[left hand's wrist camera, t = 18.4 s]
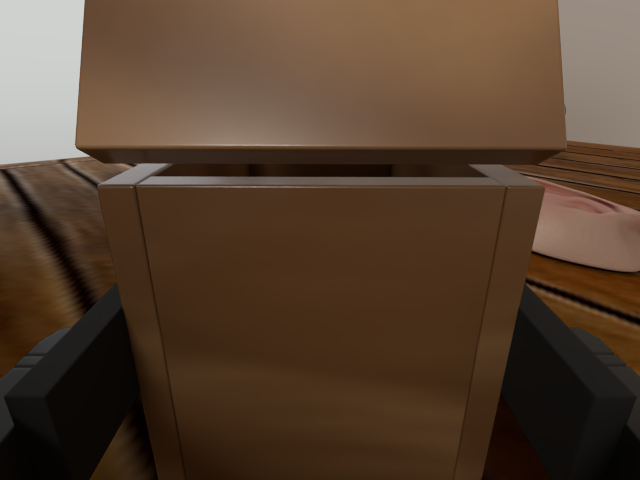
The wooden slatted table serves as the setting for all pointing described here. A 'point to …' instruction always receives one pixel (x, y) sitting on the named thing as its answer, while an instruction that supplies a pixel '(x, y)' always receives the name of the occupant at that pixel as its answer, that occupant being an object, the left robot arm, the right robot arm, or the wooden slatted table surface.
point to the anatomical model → (587, 230)
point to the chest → (320, 314)
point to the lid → (321, 82)
